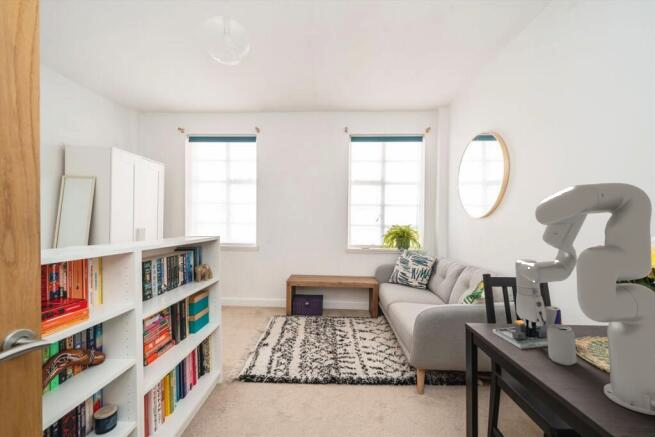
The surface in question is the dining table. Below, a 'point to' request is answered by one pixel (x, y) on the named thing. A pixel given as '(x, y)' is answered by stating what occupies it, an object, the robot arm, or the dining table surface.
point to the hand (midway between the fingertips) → (531, 336)
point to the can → (561, 344)
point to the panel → (522, 338)
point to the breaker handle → (520, 326)
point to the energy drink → (552, 316)
